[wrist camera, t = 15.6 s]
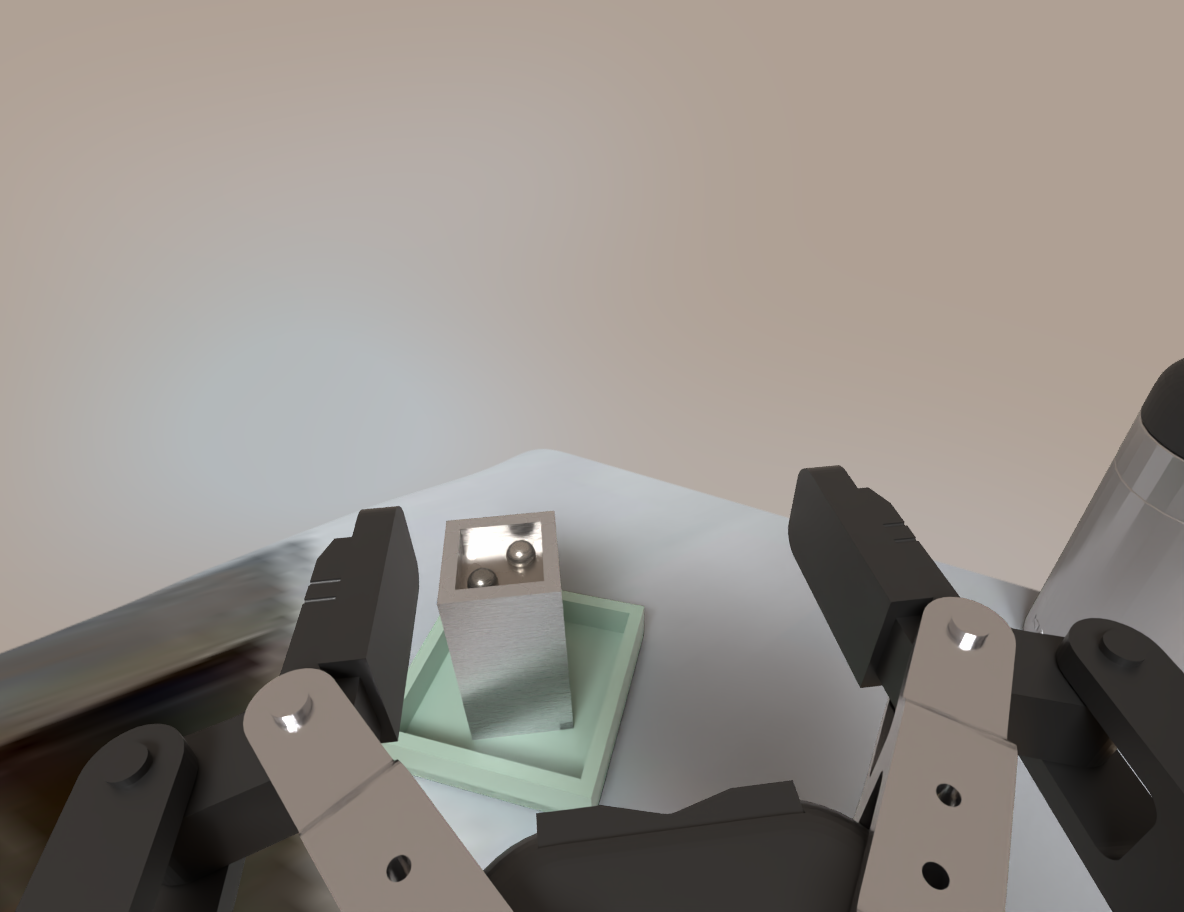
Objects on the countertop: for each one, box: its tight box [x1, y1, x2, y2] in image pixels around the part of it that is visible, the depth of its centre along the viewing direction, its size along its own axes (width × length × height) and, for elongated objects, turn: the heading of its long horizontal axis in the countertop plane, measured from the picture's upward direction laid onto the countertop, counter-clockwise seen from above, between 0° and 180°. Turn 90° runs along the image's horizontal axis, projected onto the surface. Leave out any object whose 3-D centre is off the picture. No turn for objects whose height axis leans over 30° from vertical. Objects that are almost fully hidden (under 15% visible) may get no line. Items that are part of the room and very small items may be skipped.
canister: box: [437, 511, 574, 740], centre depth 38 cm, size 6×6×12 cm
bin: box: [381, 590, 644, 812], centre depth 41 cm, size 13×13×3 cm
